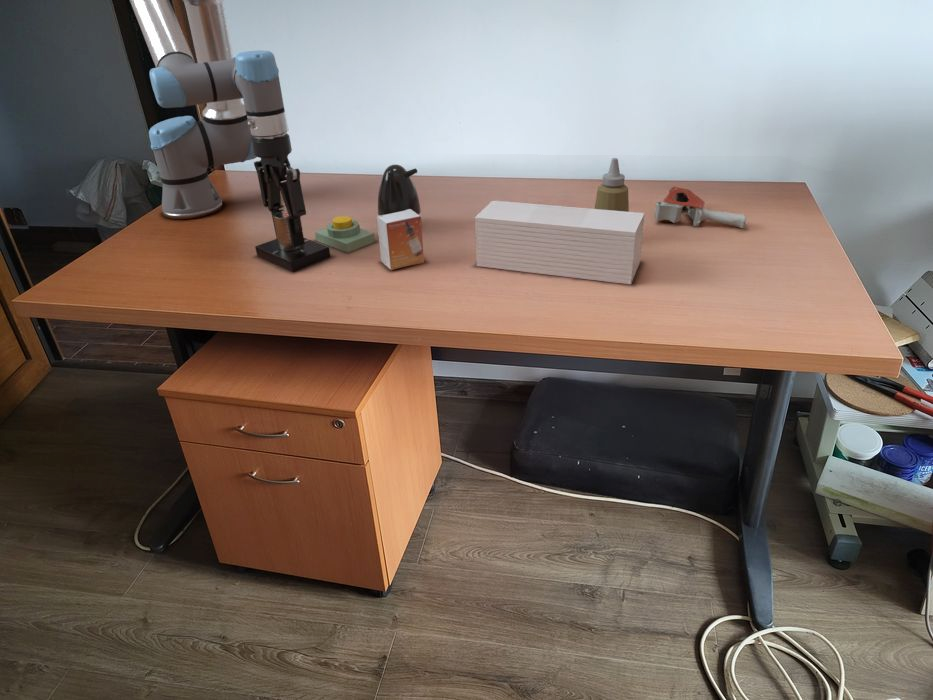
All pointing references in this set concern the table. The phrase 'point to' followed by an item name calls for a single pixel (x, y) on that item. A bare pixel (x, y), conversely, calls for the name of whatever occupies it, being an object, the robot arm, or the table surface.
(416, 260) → the small box
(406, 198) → the pump dispenser
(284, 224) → the dial
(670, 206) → the tape dispenser
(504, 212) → the white ridged block
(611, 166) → the squeeze bottle
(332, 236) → the button box
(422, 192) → the table surface
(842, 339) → the table surface
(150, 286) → the table surface
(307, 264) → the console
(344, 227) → the button
